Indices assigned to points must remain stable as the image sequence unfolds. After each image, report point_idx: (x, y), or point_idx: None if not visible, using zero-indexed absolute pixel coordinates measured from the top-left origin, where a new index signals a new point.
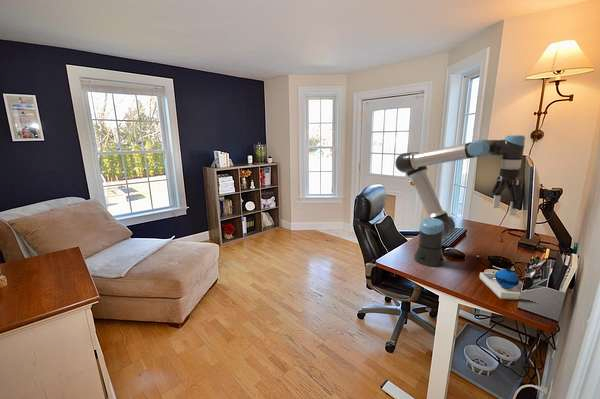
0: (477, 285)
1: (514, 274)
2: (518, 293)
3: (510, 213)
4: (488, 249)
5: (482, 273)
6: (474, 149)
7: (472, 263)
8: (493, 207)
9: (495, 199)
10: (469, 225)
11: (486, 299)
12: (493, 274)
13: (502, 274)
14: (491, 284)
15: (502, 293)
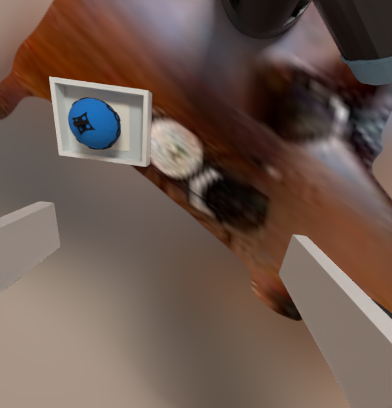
0: (113, 62)
1: (73, 131)
2: (54, 117)
3: (26, 211)
4: (304, 224)
5: (142, 93)
6: None
7: (232, 129)
8: (294, 237)
9: (353, 317)
10: None
11: (50, 41)
12: (143, 123)
13: (77, 103)
14: (92, 83)
15: (51, 80)
